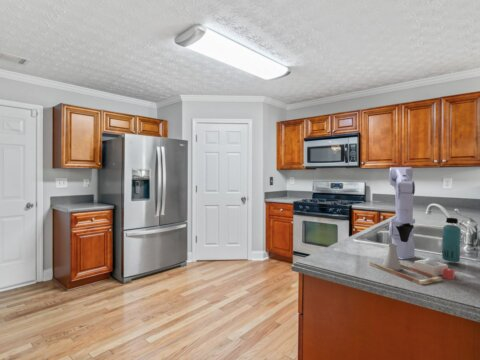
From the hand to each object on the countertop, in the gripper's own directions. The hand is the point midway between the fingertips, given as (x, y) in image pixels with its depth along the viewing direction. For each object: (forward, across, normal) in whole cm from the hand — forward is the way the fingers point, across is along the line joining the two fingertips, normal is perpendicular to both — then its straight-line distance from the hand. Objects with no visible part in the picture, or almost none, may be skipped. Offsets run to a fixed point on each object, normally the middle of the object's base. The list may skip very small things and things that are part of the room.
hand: (404, 241), depth 121 cm
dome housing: (+10, -2, +9) cm, 14 cm away
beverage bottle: (+10, -21, +10) cm, 26 cm away
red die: (+10, 0, +16) cm, 19 cm away
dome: (+10, -2, +9) cm, 14 cm away
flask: (+11, +7, -1) cm, 13 cm away
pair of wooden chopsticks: (+10, +8, +3) cm, 13 cm away
